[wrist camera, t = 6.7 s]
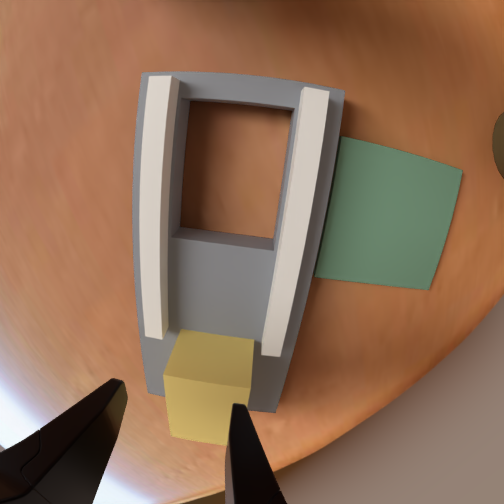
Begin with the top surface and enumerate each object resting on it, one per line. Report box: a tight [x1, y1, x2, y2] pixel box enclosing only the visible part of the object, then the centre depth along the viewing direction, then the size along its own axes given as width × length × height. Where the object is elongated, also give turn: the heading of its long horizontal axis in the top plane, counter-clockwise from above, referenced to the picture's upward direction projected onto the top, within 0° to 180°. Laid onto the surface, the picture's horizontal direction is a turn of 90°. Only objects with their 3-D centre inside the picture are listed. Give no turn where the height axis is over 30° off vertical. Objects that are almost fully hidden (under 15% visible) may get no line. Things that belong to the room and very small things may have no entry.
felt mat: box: [314, 136, 463, 290], centre depth 18 cm, size 9×9×1 cm
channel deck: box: [132, 72, 345, 413], centre depth 18 cm, size 24×11×4 cm, turn 173°
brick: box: [163, 329, 254, 446], centre depth 19 cm, size 7×5×4 cm
